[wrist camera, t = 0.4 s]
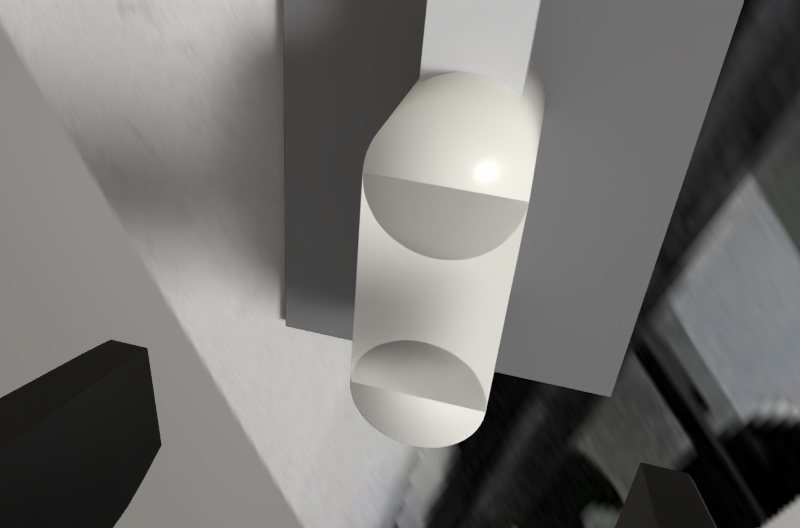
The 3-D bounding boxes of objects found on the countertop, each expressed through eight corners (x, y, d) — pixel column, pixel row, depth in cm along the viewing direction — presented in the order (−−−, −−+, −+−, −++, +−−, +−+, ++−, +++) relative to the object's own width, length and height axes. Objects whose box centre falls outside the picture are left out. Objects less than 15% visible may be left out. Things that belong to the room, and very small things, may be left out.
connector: (499, 330, 19) (475, 461, 15) (397, 309, 20) (347, 430, 15) (571, -25, 14) (566, 22, 10) (433, -42, 15) (373, -4, 10)
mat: (610, 390, 20) (610, 396, 19) (289, 320, 21) (285, 326, 21) (742, -5, 14) (744, -3, 14) (287, -62, 15) (282, -61, 15)
